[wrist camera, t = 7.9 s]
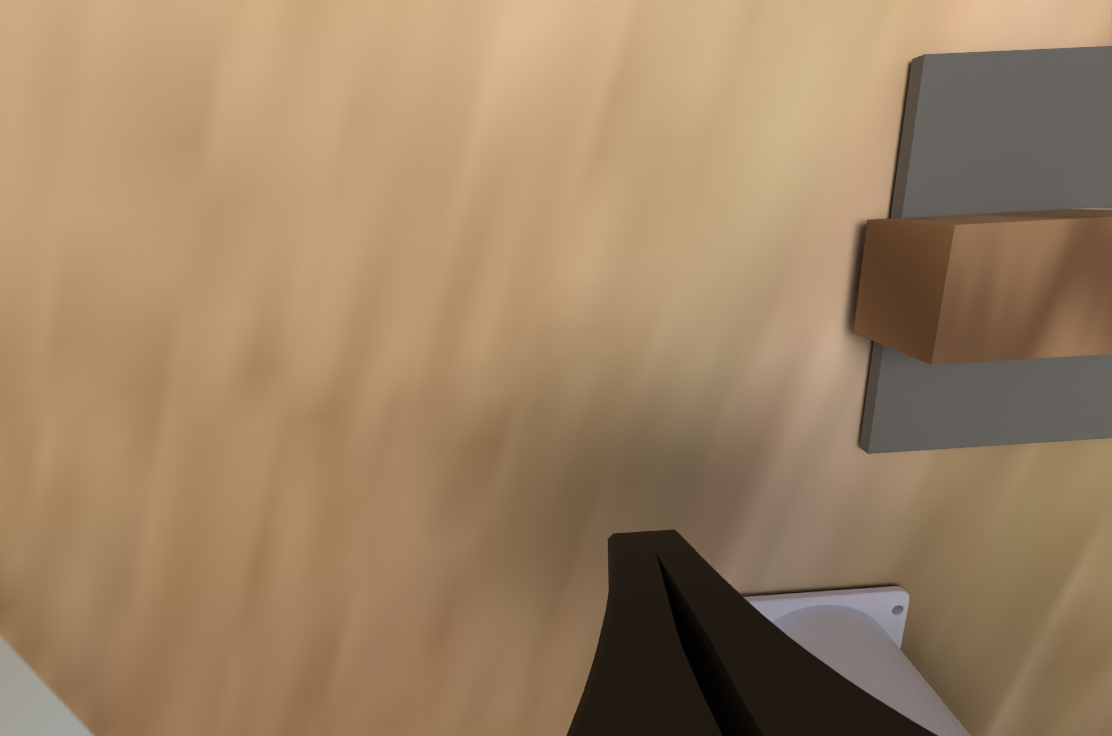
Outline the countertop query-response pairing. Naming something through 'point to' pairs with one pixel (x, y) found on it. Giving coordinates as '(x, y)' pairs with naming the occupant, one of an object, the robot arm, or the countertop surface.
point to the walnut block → (989, 285)
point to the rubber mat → (997, 187)
